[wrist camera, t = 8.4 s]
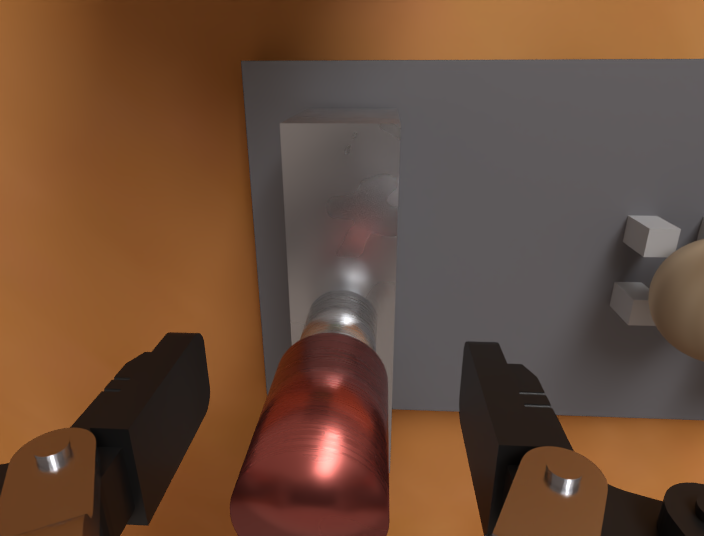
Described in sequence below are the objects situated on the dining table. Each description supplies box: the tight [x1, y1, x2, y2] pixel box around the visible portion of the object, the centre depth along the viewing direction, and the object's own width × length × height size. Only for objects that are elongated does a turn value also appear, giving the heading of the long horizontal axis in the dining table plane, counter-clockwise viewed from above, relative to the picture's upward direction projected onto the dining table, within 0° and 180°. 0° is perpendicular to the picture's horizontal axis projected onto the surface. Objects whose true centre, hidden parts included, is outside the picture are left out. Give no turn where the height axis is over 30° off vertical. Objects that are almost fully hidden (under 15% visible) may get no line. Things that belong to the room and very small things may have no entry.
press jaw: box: [230, 108, 401, 536], centre depth 14 cm, size 3×11×12 cm, turn 0°
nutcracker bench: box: [241, 59, 704, 420], centre depth 18 cm, size 21×14×4 cm, turn 90°
